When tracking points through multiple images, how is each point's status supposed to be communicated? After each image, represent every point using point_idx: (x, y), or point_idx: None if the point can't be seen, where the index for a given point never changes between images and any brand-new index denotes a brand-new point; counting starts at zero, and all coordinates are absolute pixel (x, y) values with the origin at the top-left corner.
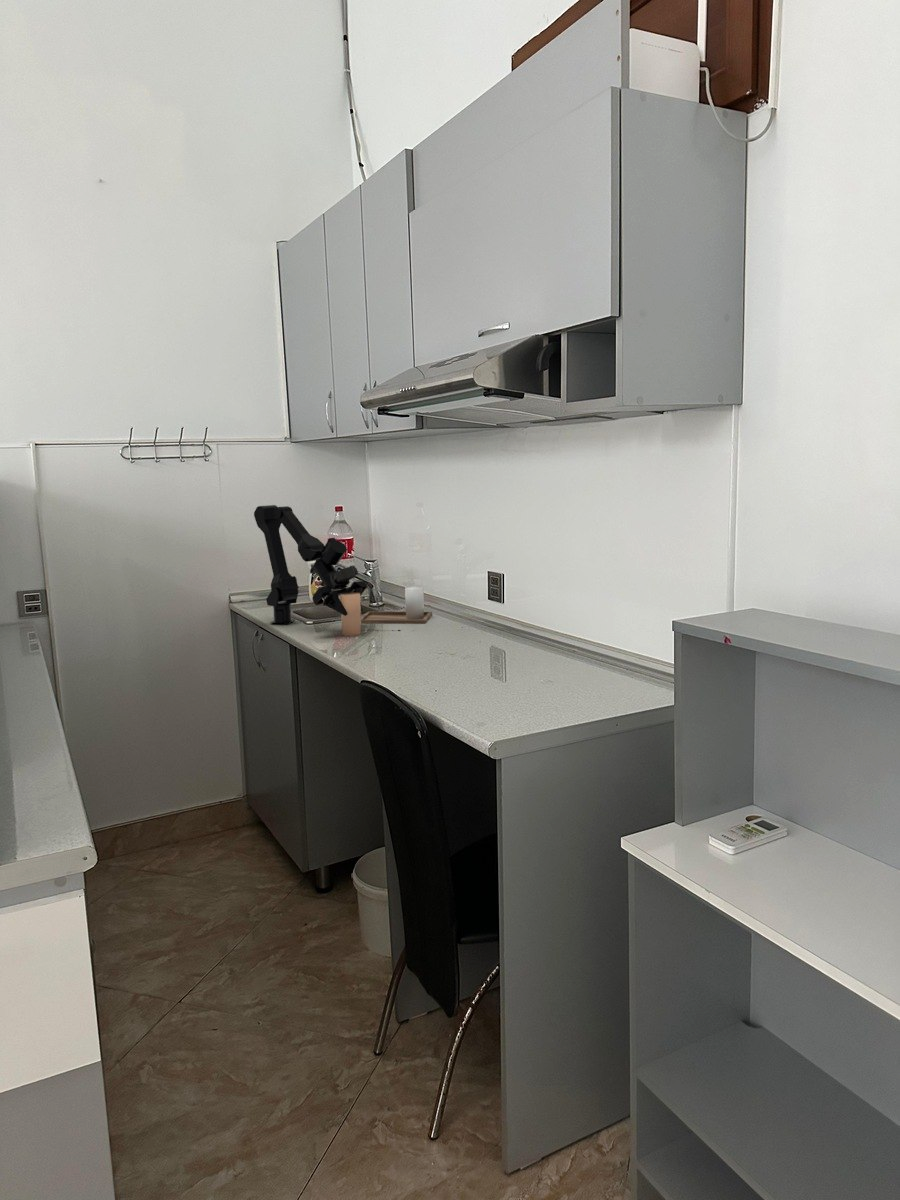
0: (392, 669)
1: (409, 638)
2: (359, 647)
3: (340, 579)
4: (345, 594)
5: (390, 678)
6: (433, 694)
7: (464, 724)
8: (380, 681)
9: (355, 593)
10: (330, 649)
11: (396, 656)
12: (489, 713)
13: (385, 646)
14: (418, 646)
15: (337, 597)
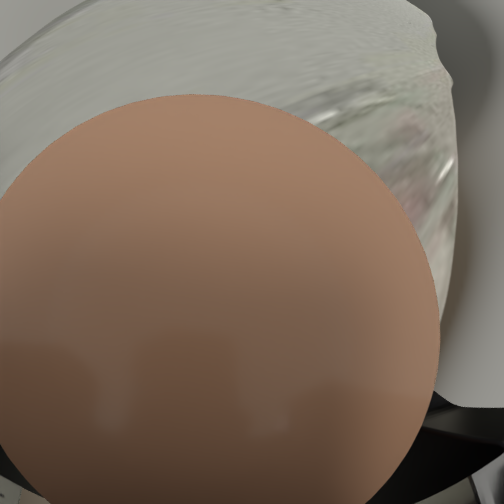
0: (409, 53)
1: (165, 76)
2: (368, 145)
3: None
4: (356, 390)
5: (428, 53)
6: (416, 25)
7: (428, 19)
8: (440, 62)
9: (68, 244)
10: (434, 214)
11: (360, 53)
12: (405, 6)
13: (308, 87)
14: (255, 35)
15: (440, 418)
